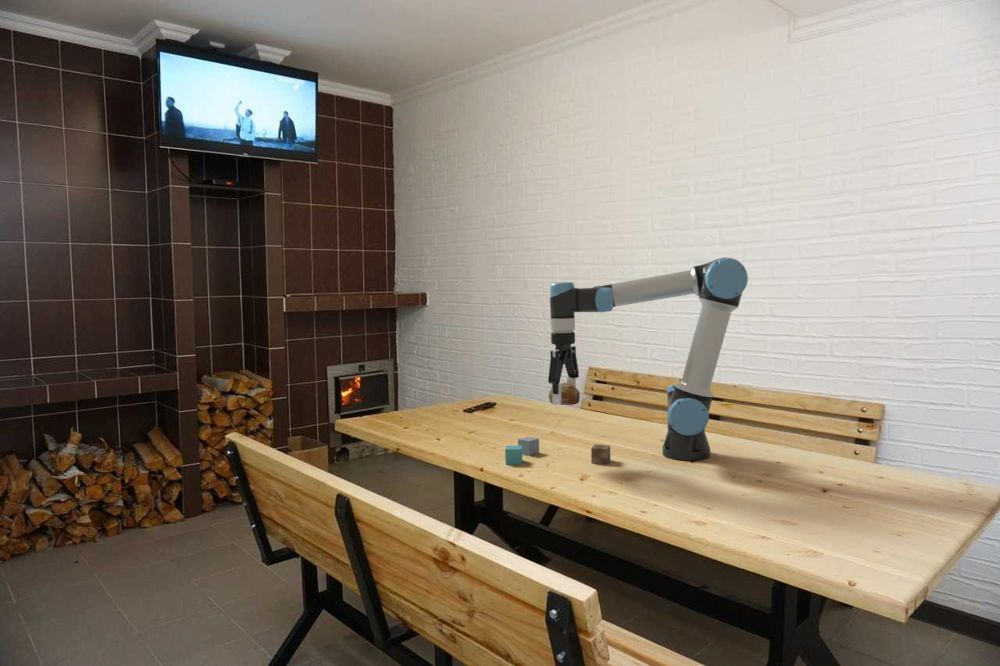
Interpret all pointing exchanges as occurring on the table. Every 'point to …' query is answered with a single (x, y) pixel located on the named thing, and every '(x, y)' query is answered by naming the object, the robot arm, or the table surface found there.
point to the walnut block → (600, 454)
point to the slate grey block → (529, 445)
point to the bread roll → (567, 394)
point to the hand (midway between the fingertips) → (564, 401)
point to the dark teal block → (513, 455)
